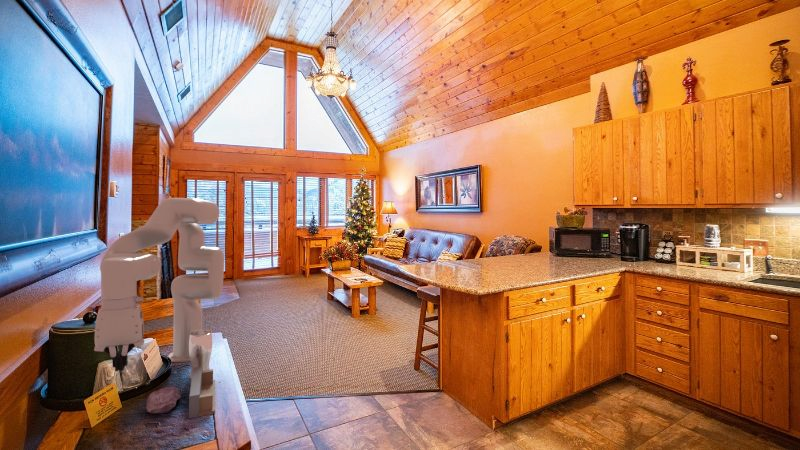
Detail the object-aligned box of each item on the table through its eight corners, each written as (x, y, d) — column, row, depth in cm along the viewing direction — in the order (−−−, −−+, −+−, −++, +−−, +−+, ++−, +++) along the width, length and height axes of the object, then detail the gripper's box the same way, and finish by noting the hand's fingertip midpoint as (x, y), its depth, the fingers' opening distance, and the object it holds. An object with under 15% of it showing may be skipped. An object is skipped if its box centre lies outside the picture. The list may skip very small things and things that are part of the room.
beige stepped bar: (193, 386, 112) (193, 367, 112) (215, 382, 115) (215, 364, 115) (188, 418, 95) (189, 396, 95) (214, 413, 98) (215, 391, 98)
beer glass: (198, 382, 115) (199, 337, 115) (183, 378, 117) (184, 334, 117) (216, 373, 121) (217, 330, 121) (201, 370, 124) (202, 328, 124)
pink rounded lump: (141, 423, 92) (141, 403, 92) (150, 398, 105) (150, 381, 105) (177, 415, 96) (177, 397, 96) (182, 392, 109) (182, 376, 108)
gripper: (154, 297, 102) (155, 358, 103) (88, 302, 95) (89, 368, 96) (150, 303, 95) (151, 369, 96) (78, 309, 88) (79, 380, 89)
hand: (120, 368), depth 96 cm, fingers closed
